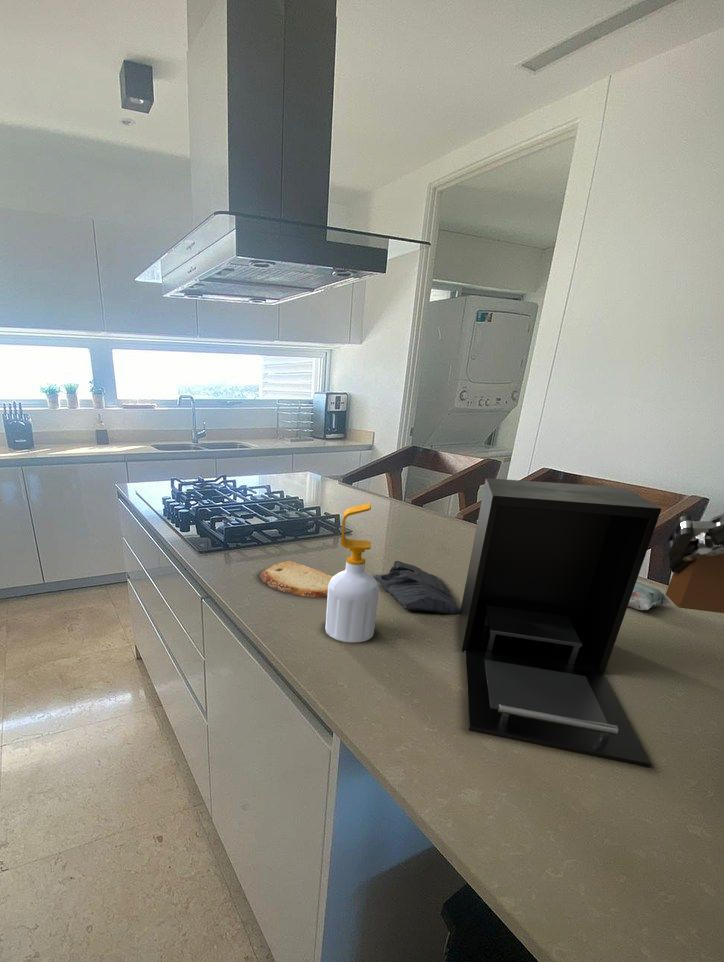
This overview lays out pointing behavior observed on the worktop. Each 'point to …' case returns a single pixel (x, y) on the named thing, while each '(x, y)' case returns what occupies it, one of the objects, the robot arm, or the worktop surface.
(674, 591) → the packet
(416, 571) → the dark grey crumpled cloth
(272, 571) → the slice of bread
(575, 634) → the rack
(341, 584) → the soap bottle
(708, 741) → the worktop surface
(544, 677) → the oven
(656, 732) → the worktop surface
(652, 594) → the packaged food
